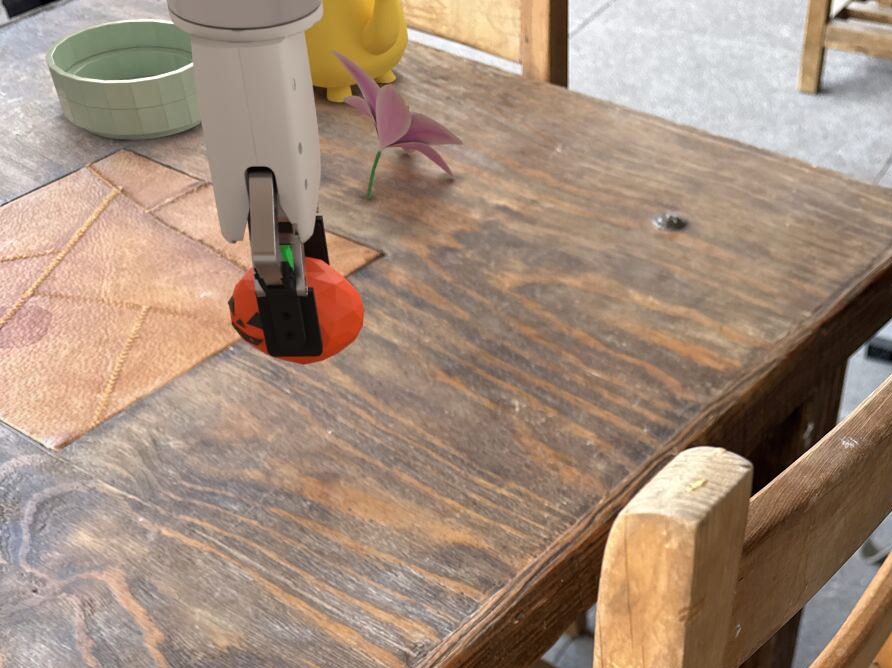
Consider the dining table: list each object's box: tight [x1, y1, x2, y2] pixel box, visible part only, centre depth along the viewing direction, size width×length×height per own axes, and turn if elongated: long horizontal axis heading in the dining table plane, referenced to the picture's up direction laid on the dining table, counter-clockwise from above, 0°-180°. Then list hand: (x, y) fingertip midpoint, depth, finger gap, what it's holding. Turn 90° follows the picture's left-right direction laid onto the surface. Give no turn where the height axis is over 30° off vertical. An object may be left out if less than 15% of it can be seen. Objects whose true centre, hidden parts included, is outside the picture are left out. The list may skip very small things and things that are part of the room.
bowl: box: [44, 18, 202, 141], centre depth 105 cm, size 14×14×5 cm
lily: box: [331, 49, 464, 199], centre depth 96 cm, size 12×12×10 cm
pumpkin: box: [227, 246, 365, 366], centre depth 70 cm, size 7×8×6 cm
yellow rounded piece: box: [305, 0, 409, 103], centre depth 107 cm, size 14×14×12 cm
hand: (301, 314), depth 71 cm, fingers closed on pumpkin, 7 cm apart
